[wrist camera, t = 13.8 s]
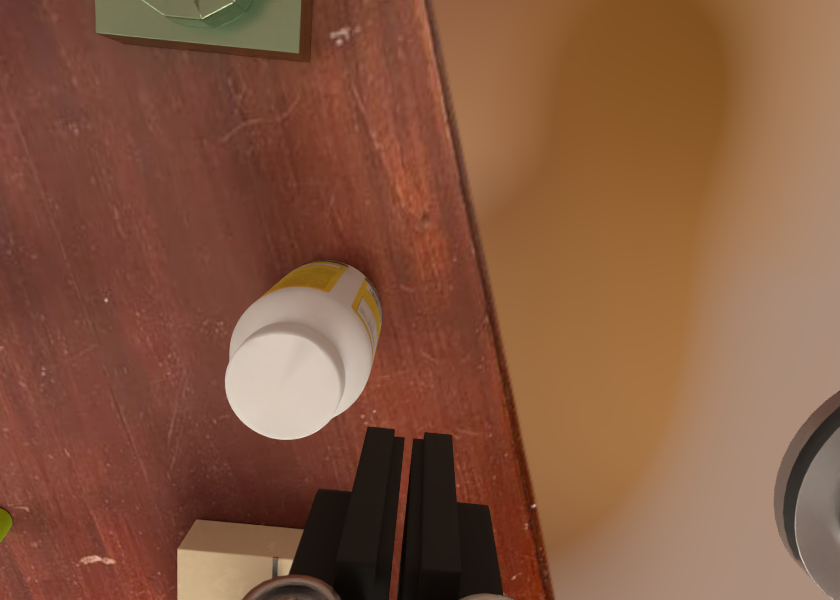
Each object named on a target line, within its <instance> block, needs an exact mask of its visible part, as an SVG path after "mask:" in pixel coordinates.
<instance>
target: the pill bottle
mask: <svg viewBox="0 0 840 600" xmlns="http://www.w3.org/2000/svg"><path fill="white" fill-rule="evenodd" d="M381 326H382V307H381V302H380V299H379V296H378V294H377V292H376V290H375V288H374V286H373V285H372V283H371V282H370V281H369V280H368V279H367V278H366V277H365V276H364V275H363V274H362V273H361V272H360V271H358V270H357V269H355V268H353V267H352V266H350V265H347V264H345V263H342V262H338V261H333V260H318V261H312V262H308V263H306V264H303V265H301V266H299V267H297V268H295V269H294V270H292V271H291V272H290V273H289V274H287V275H286V276H285V277H284V278H283V279H281V280H280V281H279V282H278V283H277V284H275V285H274V286H273V287H272V288H271V289H270V290H268V291H267V292H266V293H265V294H264V295H263V296H261V297H260V298H259V299H258V300H257V301H255V302H254V303H253V304H252V305H251V306H250V307H249V308H248V309H247V310H246V311H245V312H244V314H243V315H242V316H241V318H240V319H239V321H238V323H237V325H236V327H235V329H234V332H233V335H232V338H231V343H230V352H229V353H230V361H229V364H228V367H227V370H226V376H225V389H226V395H227V398H228V401H229V403H230V406H231V407H232V409H233V411H234V412H235V414H236V415H237V416H238V418H239V419H240V420H241V421H242V422H243V423H244V424H245V425H247V426H248V427H249V428H251V429H252V430H254V431H255V432H257V433H259V434H261V435H264V436H267V437H270V438H275V439H283V440H291V439H298V438H302V437H305V436H308V435H311V434H313V433H315V432H317V431H318V430H320V429H321V428H322V427H323V426H325V425H326V424H327V423H328V422H329V421H330V419H331V418H333V417H335V416H337V415H339V414H340V413H342V412H343V411H345V410H346V409H347V408H349V407H350V406H351V405H352V404H353V403H354V402H355V401H356V399H357V398H358V397H359V395H360V394H361V392H362V391H363V389H364V387H365V385H366V383H367V380H368V378H369V375H370V372H371V368H372V364H373V359H374V355H375V351H376V347H377V343H378V338H379V334H380V331H381Z"/></svg>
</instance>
